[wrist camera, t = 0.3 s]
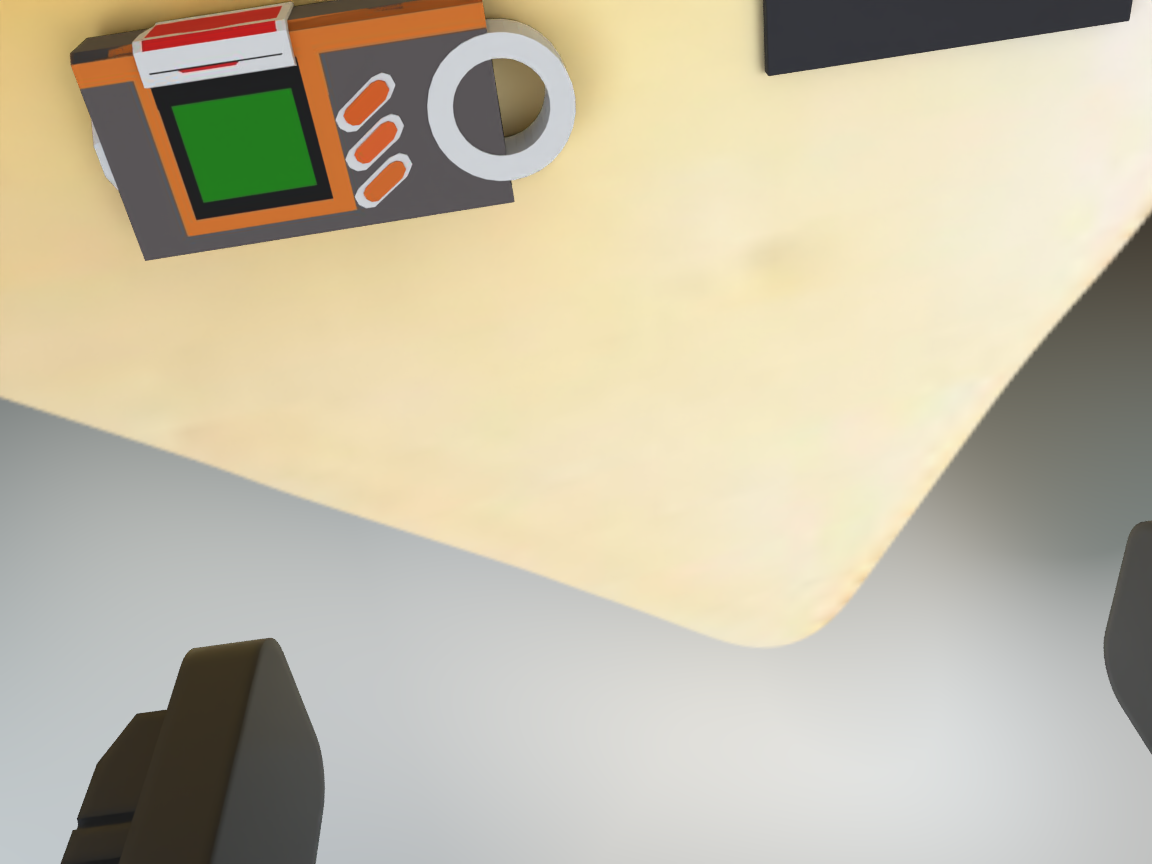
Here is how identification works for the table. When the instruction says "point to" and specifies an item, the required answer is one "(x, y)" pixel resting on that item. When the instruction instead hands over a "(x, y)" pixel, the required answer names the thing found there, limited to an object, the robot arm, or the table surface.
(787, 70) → the mat
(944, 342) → the table surface
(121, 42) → the electronic device
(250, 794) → the robot arm
